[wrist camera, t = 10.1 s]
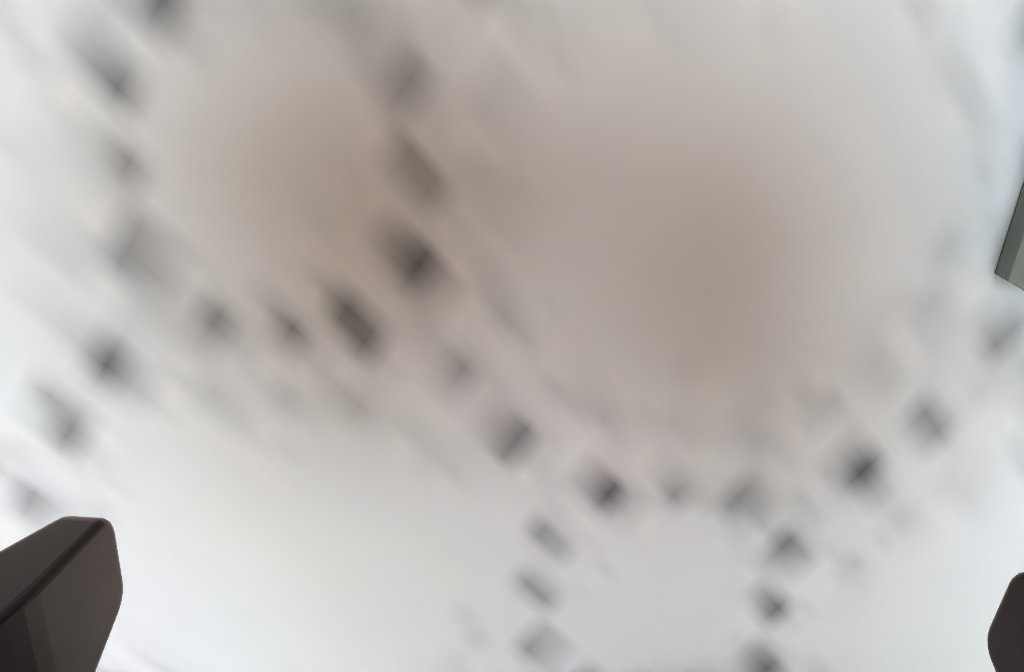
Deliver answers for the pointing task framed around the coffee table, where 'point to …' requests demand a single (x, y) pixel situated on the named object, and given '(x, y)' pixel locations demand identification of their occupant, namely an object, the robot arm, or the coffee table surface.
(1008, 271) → the tray
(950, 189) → the coffee table surface
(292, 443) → the coffee table surface
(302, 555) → the coffee table surface
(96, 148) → the coffee table surface
